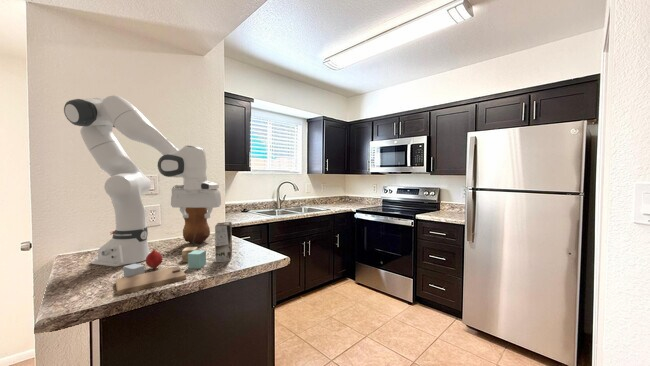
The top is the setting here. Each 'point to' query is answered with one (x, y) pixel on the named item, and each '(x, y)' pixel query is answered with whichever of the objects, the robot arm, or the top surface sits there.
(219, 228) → the coffee box
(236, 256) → the top surface
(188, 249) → the beech block
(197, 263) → the teal block
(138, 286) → the board
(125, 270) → the slate block
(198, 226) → the butternut squash
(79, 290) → the top surface
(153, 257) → the onion
